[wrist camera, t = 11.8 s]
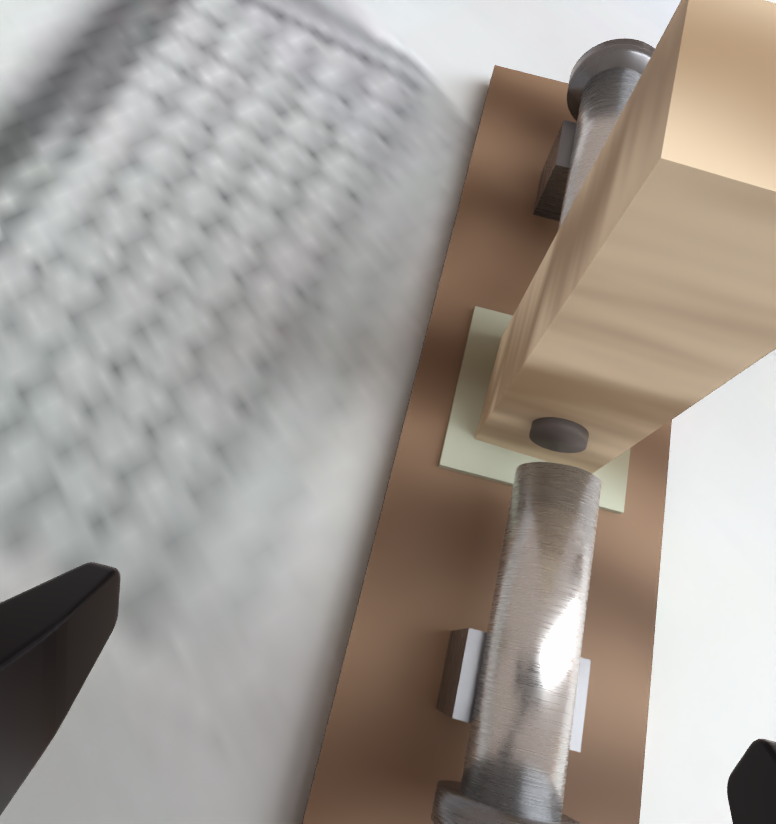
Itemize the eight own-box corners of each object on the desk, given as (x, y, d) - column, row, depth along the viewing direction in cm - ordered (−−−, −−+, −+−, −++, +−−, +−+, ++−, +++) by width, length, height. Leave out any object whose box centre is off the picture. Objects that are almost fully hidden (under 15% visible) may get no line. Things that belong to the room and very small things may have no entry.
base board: (607, 970, 19) (630, 996, 17) (286, 883, 19) (283, 901, 17) (683, 134, 31) (699, 110, 30) (489, 86, 31) (496, 59, 30)
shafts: (536, 832, 19) (606, 896, 14) (414, 799, 19) (441, 851, 14) (626, 149, 29) (685, 48, 24) (547, 129, 29) (589, 24, 24)
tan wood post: (588, 485, 22) (938, 259, 9) (471, 448, 23) (657, 176, 10) (611, 362, 24) (928, 32, 11) (503, 329, 24) (694, -34, 11)
